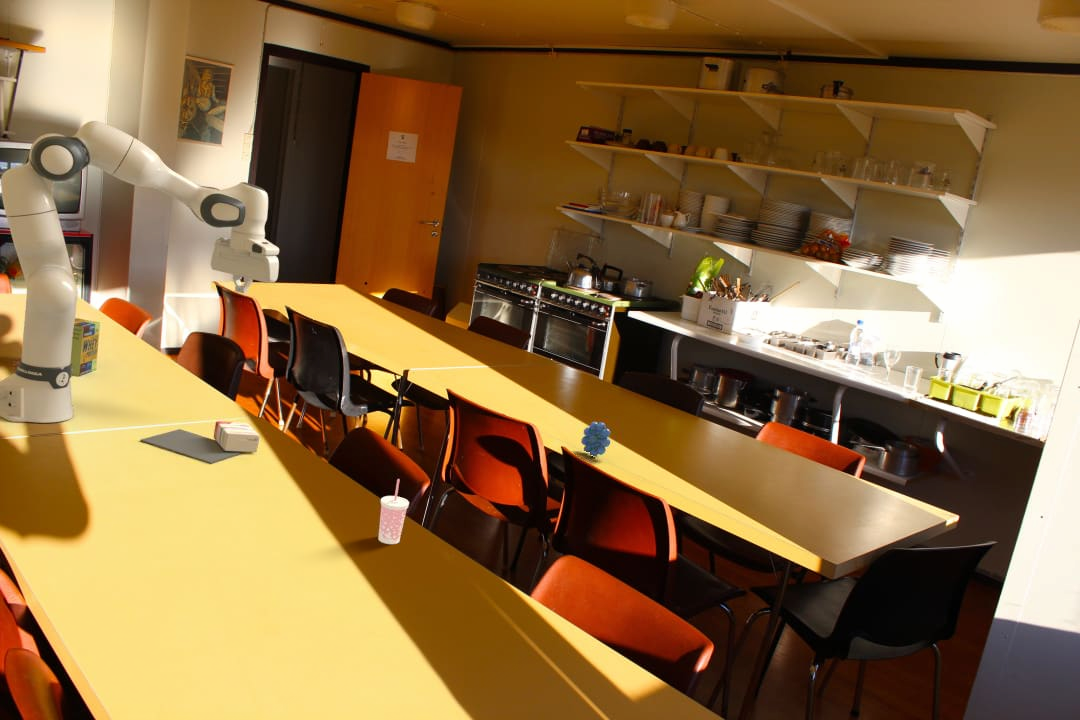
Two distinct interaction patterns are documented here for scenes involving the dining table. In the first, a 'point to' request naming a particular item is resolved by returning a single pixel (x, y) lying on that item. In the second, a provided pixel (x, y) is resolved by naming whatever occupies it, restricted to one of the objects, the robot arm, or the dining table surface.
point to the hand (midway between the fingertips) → (241, 292)
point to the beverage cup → (392, 517)
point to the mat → (191, 446)
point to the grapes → (596, 438)
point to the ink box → (236, 436)
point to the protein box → (84, 346)
